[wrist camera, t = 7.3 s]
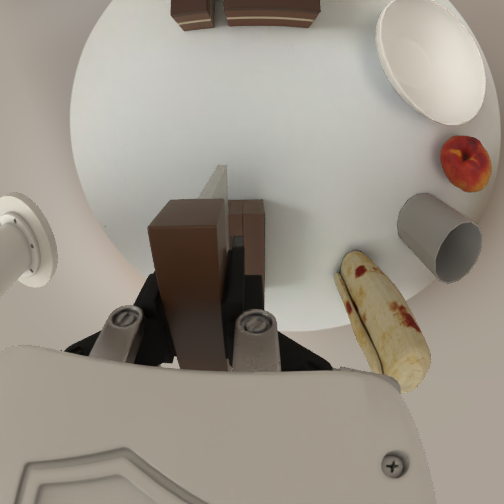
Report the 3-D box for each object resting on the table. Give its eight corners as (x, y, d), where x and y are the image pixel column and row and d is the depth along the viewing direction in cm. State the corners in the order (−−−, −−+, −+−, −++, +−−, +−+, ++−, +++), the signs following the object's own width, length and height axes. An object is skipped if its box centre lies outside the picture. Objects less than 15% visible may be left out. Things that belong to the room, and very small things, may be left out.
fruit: (455, 120, 26) (493, 128, 19) (473, 166, 29) (508, 181, 22) (422, 147, 28) (459, 160, 21) (443, 193, 31) (477, 214, 24)
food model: (375, 289, 39) (430, 392, 22) (335, 301, 40) (375, 415, 22) (370, 234, 35) (448, 338, 17) (325, 248, 36) (379, 368, 18)
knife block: (220, 288, 39) (217, 311, 34) (212, 200, 32) (206, 215, 28) (262, 288, 39) (264, 311, 34) (262, 199, 32) (264, 213, 28)
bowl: (327, 46, 23) (347, 30, 17) (400, -6, 18) (427, -21, 11) (410, 143, 28) (442, 153, 22) (468, 84, 23) (500, 86, 17)
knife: (213, 259, 22) (186, 391, 11) (207, 158, 18) (146, 227, 7) (238, 259, 22) (230, 393, 11) (236, 157, 18) (216, 225, 7)
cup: (448, 205, 32) (490, 234, 23) (426, 251, 36) (461, 288, 27) (411, 184, 31) (455, 211, 22) (388, 236, 35) (422, 275, 26)
